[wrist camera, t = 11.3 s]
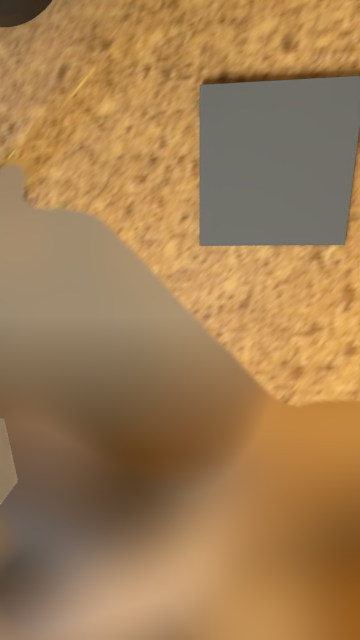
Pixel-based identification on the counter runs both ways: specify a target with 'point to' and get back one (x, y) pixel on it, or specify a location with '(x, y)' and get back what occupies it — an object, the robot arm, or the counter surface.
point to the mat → (277, 161)
